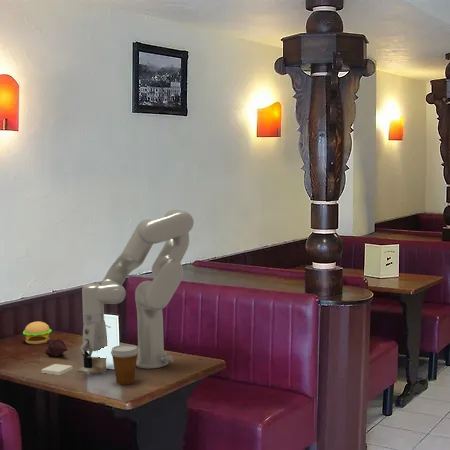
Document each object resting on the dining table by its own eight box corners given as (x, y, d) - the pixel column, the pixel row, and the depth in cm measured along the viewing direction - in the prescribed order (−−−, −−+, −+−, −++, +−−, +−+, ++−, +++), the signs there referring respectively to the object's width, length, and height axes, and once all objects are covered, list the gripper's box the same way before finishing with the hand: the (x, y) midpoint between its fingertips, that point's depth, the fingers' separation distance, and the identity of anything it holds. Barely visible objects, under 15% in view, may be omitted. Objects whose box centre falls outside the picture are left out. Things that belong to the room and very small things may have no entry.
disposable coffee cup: (134, 386, 243) (133, 352, 241) (108, 385, 244) (106, 351, 243) (142, 378, 252) (141, 344, 251) (117, 377, 254) (115, 344, 252)
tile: (72, 365, 264) (54, 363, 268) (59, 371, 257) (41, 369, 260) (72, 370, 265) (54, 368, 268) (59, 376, 257) (41, 374, 260)
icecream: (76, 341, 281) (56, 338, 291) (60, 339, 276) (40, 337, 286) (74, 359, 280) (53, 355, 290) (57, 358, 275) (37, 354, 285)
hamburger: (51, 344, 303) (51, 324, 302) (22, 346, 300) (21, 326, 299) (52, 337, 314) (51, 318, 313) (23, 339, 311) (22, 320, 311)
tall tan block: (107, 371, 261) (106, 357, 261) (101, 374, 258) (101, 360, 257) (83, 368, 265) (82, 355, 265) (77, 371, 261) (77, 358, 261)
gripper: (89, 323, 250) (91, 371, 251) (114, 313, 266) (116, 358, 267) (71, 322, 252) (73, 369, 254) (96, 312, 268) (98, 357, 270)
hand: (95, 364), depth 261 cm, fingers open, 9 cm apart
